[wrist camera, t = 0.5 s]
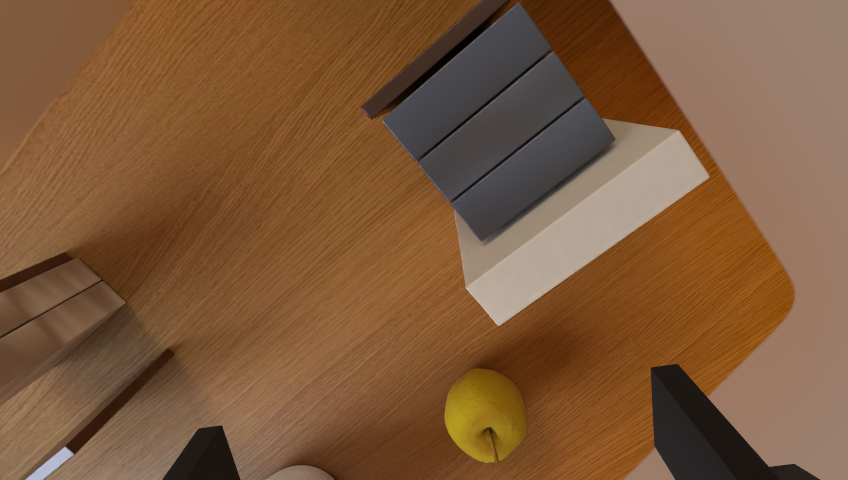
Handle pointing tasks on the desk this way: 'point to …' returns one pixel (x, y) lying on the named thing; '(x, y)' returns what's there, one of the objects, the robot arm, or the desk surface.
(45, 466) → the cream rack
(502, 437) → the apple
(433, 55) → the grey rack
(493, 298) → the cream book
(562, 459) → the desk surface
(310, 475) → the mug
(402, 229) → the desk surface
